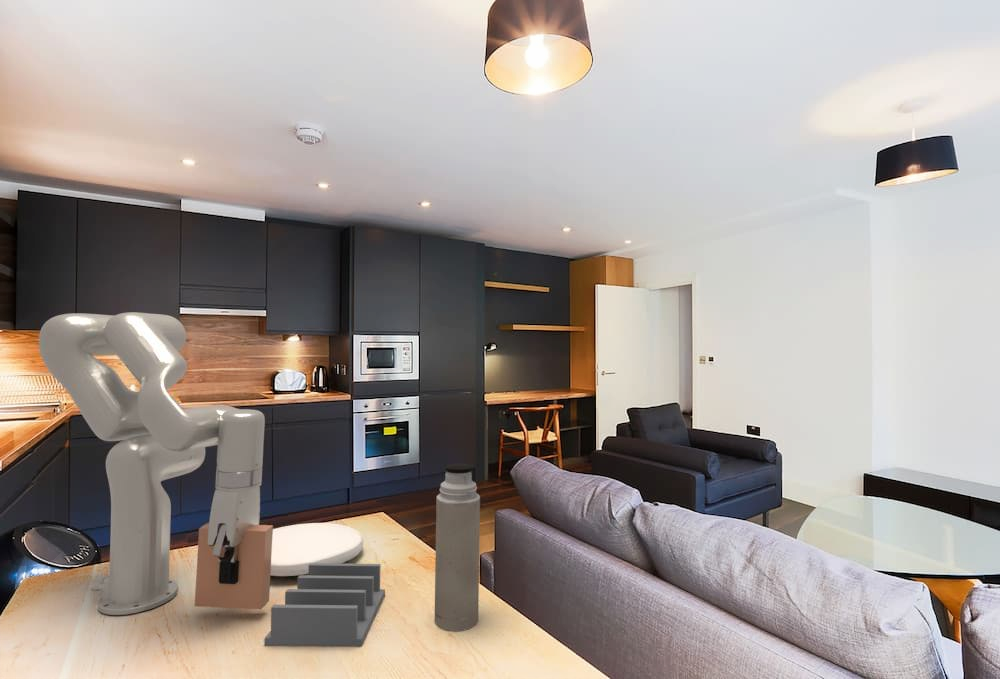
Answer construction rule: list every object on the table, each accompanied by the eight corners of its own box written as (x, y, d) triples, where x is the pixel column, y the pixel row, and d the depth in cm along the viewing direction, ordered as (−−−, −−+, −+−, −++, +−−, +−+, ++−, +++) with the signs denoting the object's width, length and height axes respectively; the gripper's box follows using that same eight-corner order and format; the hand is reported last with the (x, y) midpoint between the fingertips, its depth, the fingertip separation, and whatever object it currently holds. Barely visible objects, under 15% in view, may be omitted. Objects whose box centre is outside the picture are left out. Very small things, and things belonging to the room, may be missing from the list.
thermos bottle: (429, 612, 95) (432, 462, 95) (470, 605, 98) (472, 459, 98) (440, 635, 87) (443, 471, 88) (484, 626, 90) (486, 468, 91)
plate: (289, 515, 135) (382, 524, 130) (287, 540, 134) (380, 550, 129) (210, 542, 108) (324, 554, 102) (206, 574, 107) (321, 588, 102)
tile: (194, 606, 91) (199, 528, 91) (204, 598, 94) (208, 522, 94) (261, 609, 91) (265, 531, 91) (268, 601, 94) (273, 525, 94)
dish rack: (264, 645, 84) (265, 607, 84) (304, 594, 101) (305, 563, 101) (361, 646, 84) (362, 608, 84) (384, 595, 101) (385, 564, 101)
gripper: (241, 466, 101) (236, 558, 101) (191, 489, 85) (185, 599, 84) (278, 467, 101) (274, 560, 101) (236, 491, 85) (230, 601, 84)
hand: (233, 577), depth 93 cm, fingers closed on tile, 3 cm apart
